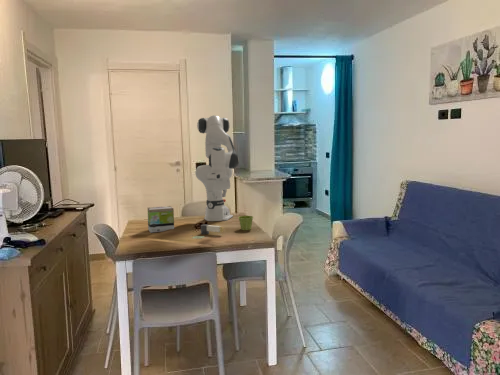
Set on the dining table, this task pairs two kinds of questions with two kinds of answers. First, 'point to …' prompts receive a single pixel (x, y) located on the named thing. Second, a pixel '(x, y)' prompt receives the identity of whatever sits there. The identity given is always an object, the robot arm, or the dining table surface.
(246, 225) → the plant pot
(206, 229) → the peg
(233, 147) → the robot arm
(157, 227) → the tea box
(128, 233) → the dining table surface
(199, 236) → the dial
